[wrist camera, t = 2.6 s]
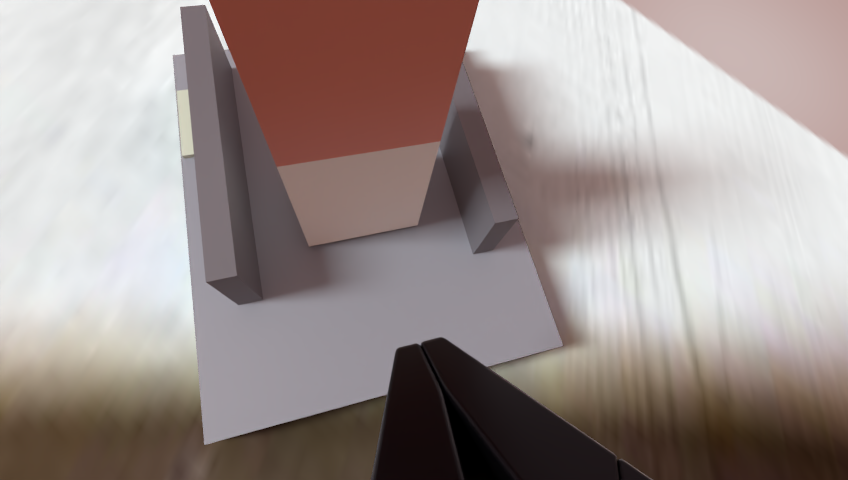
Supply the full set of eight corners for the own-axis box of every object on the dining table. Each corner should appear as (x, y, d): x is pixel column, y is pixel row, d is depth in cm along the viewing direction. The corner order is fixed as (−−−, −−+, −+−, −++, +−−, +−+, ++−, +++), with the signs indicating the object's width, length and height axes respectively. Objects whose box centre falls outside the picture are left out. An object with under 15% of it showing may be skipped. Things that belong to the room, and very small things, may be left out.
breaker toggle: (417, 225, 16) (506, -103, 5) (309, 246, 15) (172, -90, 5) (398, 156, 17) (445, -232, 6) (295, 173, 16) (158, -240, 6)
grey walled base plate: (546, 350, 16) (607, 333, 12) (220, 440, 14) (156, 457, 10) (443, 52, 21) (462, -35, 17) (187, 81, 19) (134, -11, 14)
